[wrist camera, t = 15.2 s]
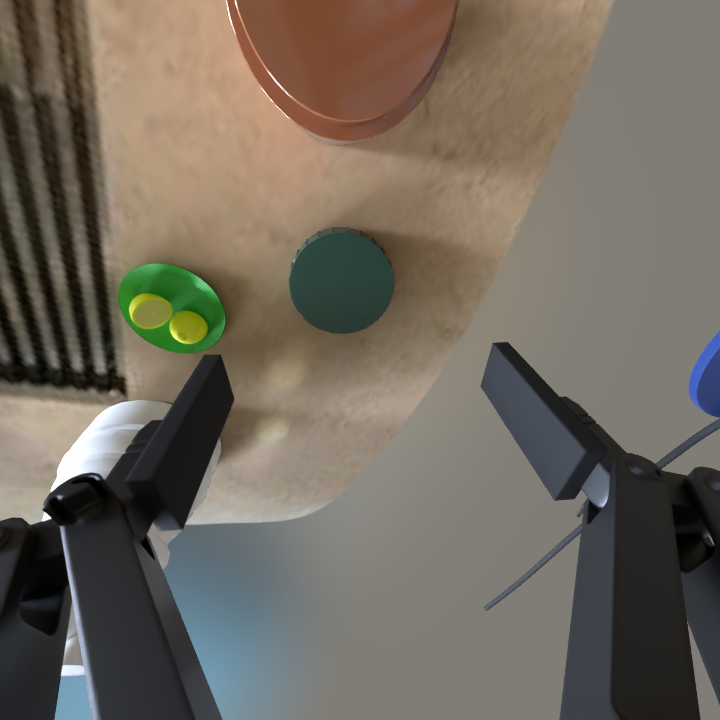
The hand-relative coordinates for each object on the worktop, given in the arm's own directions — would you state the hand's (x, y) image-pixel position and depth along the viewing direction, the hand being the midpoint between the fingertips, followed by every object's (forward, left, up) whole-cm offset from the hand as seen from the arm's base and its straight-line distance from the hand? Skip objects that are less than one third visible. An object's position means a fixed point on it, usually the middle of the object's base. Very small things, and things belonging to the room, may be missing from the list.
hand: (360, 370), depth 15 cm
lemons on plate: (-2, +14, -13) cm, 19 cm away
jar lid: (0, 0, -11) cm, 11 cm away
